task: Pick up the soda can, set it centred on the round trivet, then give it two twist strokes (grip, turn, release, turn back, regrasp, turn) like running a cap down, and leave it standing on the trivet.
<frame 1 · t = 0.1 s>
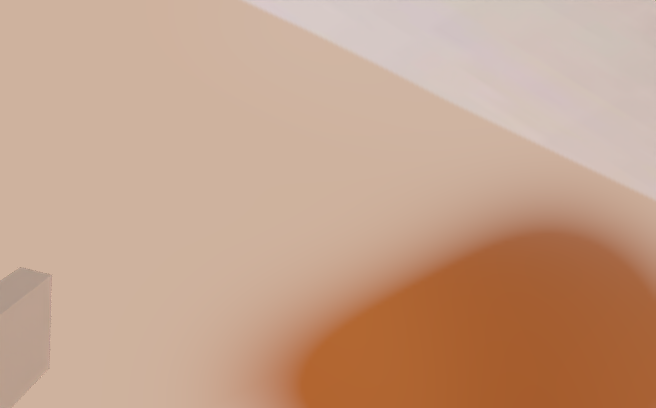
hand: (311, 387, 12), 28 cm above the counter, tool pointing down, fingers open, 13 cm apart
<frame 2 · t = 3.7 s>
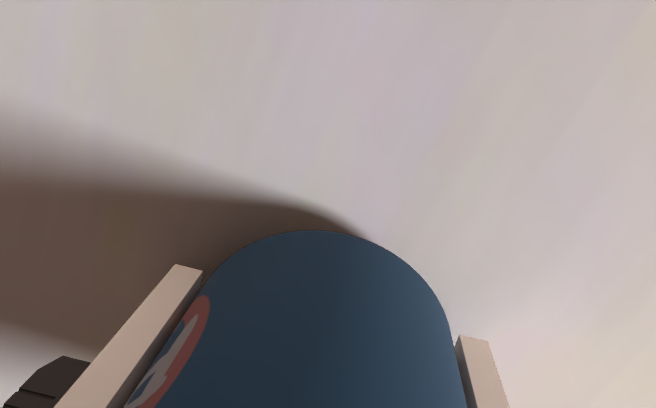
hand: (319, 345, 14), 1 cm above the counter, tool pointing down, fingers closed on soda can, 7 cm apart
soda can: (324, 319, 15), on the counter, touching gripper
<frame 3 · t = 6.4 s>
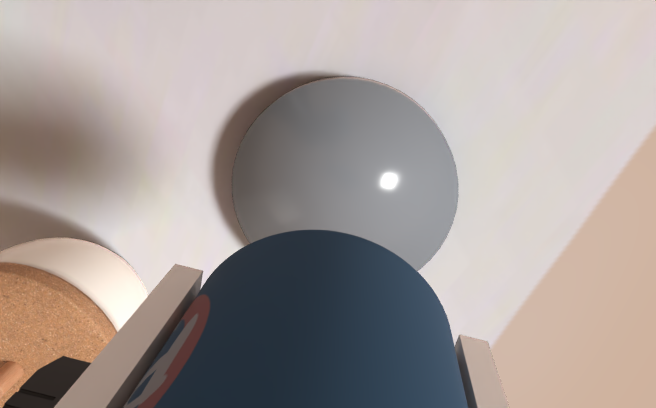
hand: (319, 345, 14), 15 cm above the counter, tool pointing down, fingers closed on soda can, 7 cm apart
lidded jar: (99, 287, 32), on the counter
soda can: (324, 318, 15), point 14 cm above the counter, touching gripper
trivet: (344, 186, 28), on the counter
when the fingers open (3 cm above the counter, at t = 9.1 s): soda can stays where it is, resting on trivet.
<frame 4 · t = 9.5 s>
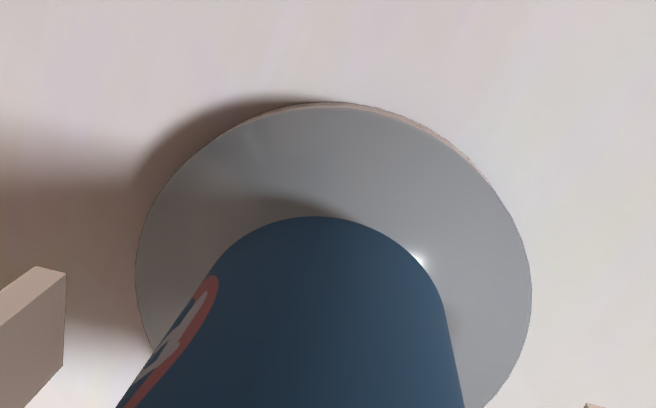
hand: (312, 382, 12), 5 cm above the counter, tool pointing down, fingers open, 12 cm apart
soda can: (325, 303, 15), point 1 cm above the counter, touching trivet
trivet: (330, 284, 17), on the counter
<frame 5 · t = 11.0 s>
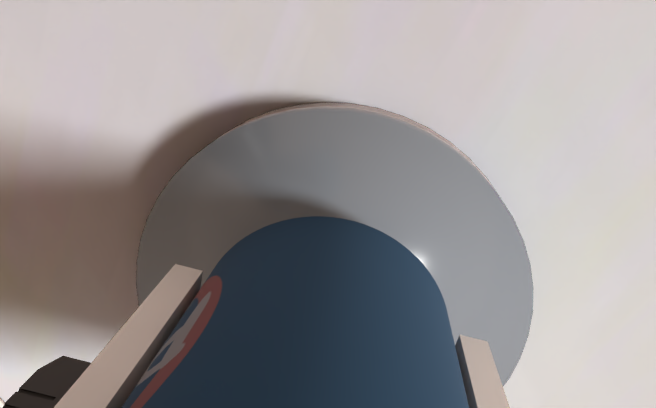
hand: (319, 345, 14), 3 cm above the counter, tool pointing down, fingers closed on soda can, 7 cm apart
soda can: (327, 303, 15), point 1 cm above the counter, touching gripper, trivet
trivet: (331, 284, 17), on the counter
when the fingers open (4 cm above the counter, at t = 11.9 s): soda can drops 1 cm, resting on trivet.
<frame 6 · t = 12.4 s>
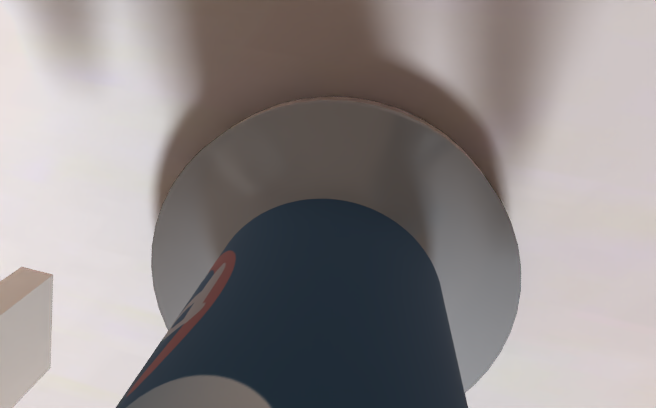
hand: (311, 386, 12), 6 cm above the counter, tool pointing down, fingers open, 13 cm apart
soda can: (329, 282, 17), point 1 cm above the counter, touching trivet
trivet: (333, 268, 18), on the counter
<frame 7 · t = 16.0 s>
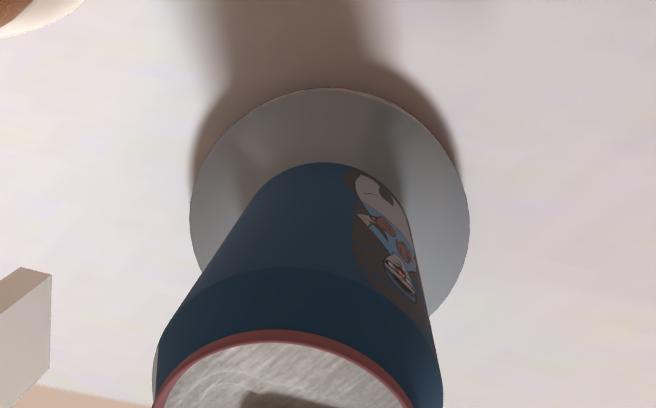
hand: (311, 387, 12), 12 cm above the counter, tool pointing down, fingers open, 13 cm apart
soda can: (327, 231, 22), point 1 cm above the counter, touching trivet
trivet: (329, 221, 23), on the counter
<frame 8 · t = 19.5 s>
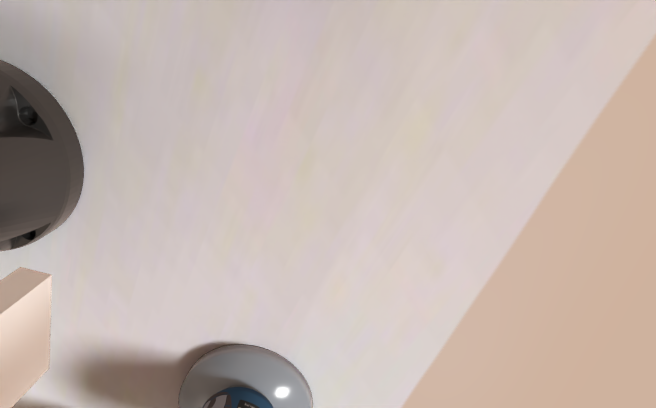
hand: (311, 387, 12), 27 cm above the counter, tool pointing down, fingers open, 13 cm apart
trivet: (248, 399, 46), on the counter
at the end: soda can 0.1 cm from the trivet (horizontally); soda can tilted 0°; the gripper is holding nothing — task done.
